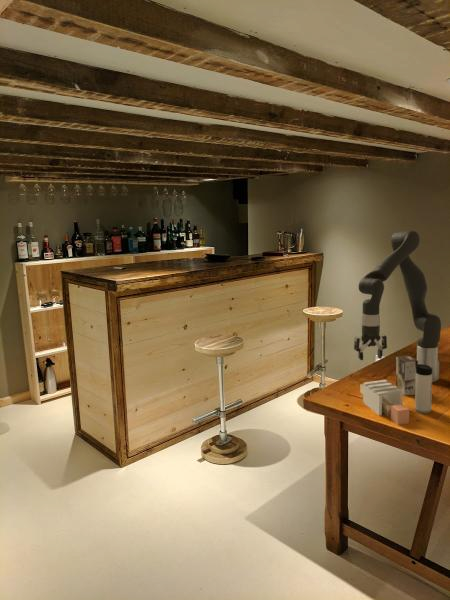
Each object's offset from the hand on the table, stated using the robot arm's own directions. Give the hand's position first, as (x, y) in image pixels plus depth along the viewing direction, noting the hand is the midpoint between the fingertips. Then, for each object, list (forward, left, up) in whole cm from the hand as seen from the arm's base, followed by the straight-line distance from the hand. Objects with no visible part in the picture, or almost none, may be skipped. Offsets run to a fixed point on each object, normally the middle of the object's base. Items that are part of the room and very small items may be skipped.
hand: (370, 358), depth 200 cm
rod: (-1, +5, -19) cm, 20 cm away
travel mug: (-15, +17, -19) cm, 30 cm away
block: (-1, +23, -19) cm, 30 cm away
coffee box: (-20, -3, -19) cm, 28 cm away
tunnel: (-1, +9, -19) cm, 21 cm away
